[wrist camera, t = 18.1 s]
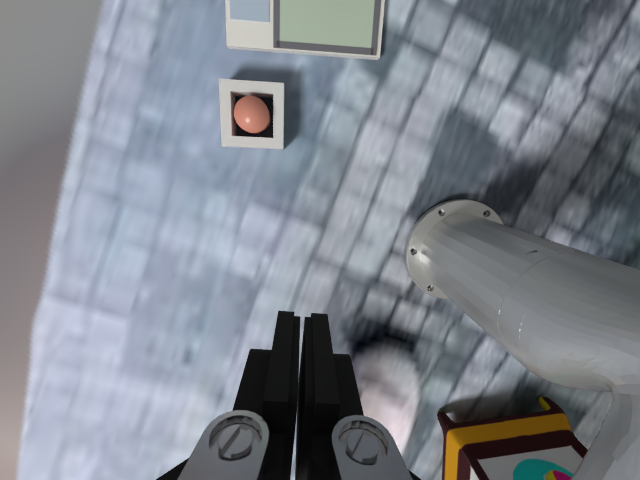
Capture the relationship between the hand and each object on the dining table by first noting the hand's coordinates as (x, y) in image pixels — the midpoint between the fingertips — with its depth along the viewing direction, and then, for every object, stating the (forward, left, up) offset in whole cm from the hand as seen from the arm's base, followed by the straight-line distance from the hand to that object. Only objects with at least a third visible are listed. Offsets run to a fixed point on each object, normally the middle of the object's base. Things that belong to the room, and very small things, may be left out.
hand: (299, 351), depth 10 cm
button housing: (+4, -10, -26) cm, 28 cm away
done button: (+4, -10, -25) cm, 27 cm away
